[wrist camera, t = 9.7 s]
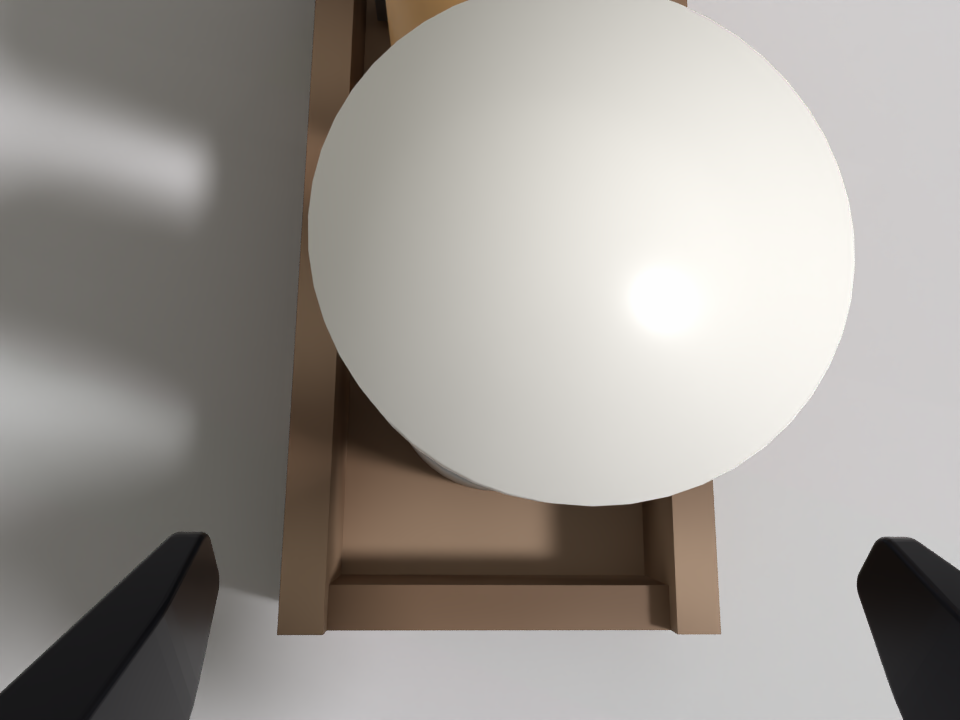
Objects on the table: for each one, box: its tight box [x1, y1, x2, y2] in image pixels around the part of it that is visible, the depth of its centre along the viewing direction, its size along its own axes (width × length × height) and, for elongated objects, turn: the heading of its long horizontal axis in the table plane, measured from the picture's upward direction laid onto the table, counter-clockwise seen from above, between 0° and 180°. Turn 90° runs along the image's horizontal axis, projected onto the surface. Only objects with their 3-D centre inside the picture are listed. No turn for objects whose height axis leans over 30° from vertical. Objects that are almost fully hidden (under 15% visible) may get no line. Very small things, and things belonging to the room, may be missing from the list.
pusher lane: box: [277, 0, 721, 635], centre depth 18 cm, size 22×10×5 cm, turn 179°
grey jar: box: [308, 0, 855, 506], centre depth 13 cm, size 6×6×12 cm
